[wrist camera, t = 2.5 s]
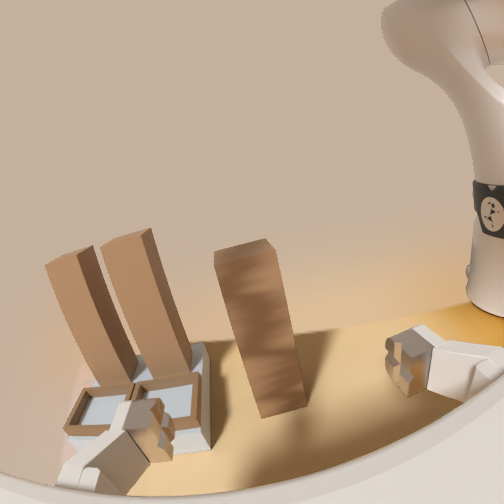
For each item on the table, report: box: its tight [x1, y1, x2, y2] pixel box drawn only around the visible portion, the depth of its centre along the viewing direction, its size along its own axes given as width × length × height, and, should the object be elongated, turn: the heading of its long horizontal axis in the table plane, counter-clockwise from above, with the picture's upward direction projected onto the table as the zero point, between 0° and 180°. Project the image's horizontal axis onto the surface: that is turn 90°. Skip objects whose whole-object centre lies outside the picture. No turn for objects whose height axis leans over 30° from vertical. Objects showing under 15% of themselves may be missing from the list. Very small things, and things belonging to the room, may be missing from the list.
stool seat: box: [45, 228, 211, 455], centre depth 24 cm, size 13×14×16 cm
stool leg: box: [214, 239, 307, 418], centre depth 22 cm, size 4×4×14 cm
